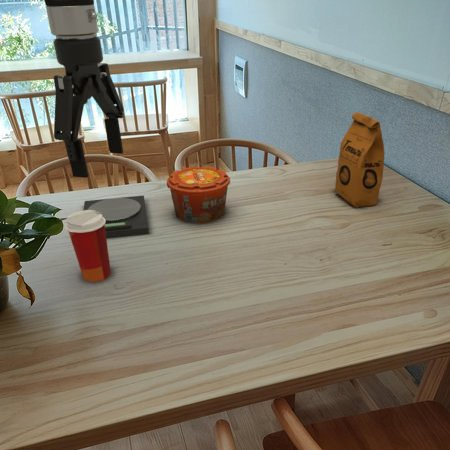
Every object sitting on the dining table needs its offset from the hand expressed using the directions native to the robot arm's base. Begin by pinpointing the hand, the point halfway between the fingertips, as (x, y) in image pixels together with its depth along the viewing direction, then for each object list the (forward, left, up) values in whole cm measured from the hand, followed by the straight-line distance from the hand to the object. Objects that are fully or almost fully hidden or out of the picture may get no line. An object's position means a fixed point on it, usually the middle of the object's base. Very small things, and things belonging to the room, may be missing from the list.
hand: (99, 164), depth 86 cm
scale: (0, +21, -22) cm, 31 cm away
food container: (+22, +20, -23) cm, 37 cm away
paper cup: (-4, -5, -23) cm, 24 cm away
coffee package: (+66, +20, -23) cm, 72 cm away
